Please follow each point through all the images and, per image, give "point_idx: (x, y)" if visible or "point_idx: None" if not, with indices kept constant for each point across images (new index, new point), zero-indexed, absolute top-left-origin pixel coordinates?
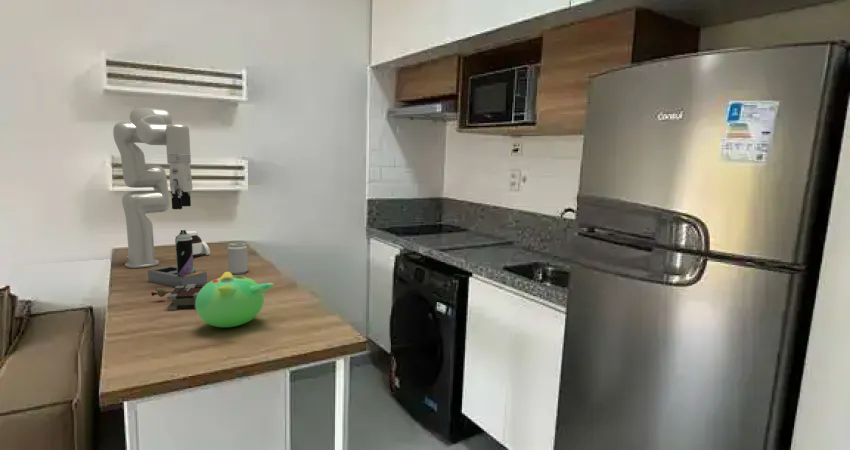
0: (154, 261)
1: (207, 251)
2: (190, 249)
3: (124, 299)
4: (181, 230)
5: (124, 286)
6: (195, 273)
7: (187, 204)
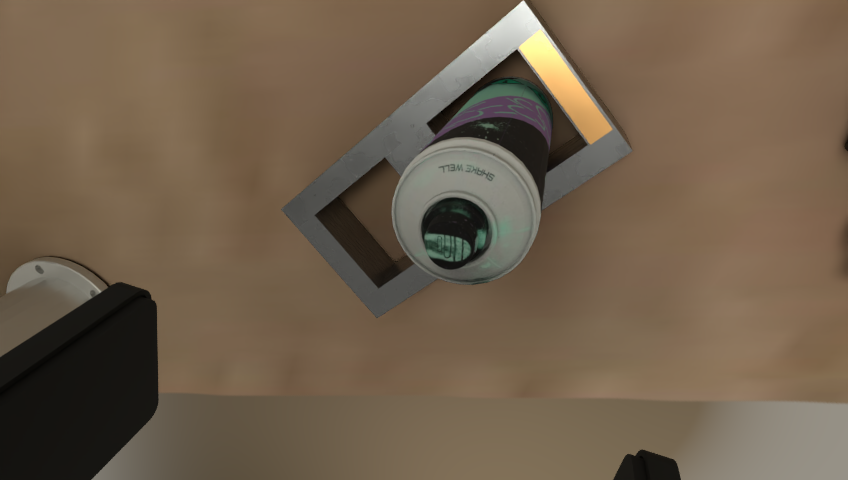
0: (53, 279)
1: None
2: (521, 132)
3: (717, 371)
4: (467, 262)
5: (461, 373)
6: (568, 72)
7: (135, 345)
